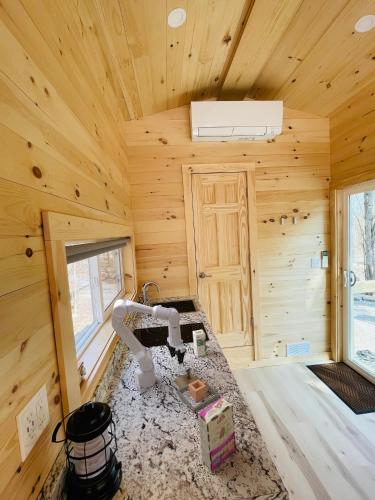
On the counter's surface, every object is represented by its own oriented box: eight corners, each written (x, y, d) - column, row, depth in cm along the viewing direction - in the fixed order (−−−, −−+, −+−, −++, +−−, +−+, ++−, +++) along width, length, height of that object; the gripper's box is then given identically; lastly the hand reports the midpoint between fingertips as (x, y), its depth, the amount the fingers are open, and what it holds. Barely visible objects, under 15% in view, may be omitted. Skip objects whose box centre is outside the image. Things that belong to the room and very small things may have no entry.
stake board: (180, 390, 106) (179, 379, 106) (172, 382, 112) (171, 371, 112) (198, 381, 111) (197, 370, 111) (190, 374, 117) (189, 363, 117)
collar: (196, 402, 97) (195, 391, 97) (189, 395, 102) (188, 384, 101) (209, 395, 101) (208, 384, 100) (202, 388, 106) (201, 378, 105)
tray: (193, 415, 92) (193, 409, 92) (176, 395, 103) (176, 390, 103) (219, 399, 99) (219, 394, 99) (201, 382, 110) (201, 378, 110)
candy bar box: (225, 439, 81) (222, 395, 79) (236, 450, 76) (233, 404, 75) (200, 460, 74) (197, 413, 72) (211, 473, 70) (207, 423, 68)
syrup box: (197, 359, 130) (195, 335, 129) (194, 354, 136) (192, 330, 134) (207, 357, 132) (205, 332, 130) (203, 352, 137) (201, 328, 136)
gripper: (189, 336, 109) (191, 363, 111) (174, 326, 121) (176, 351, 123) (176, 341, 105) (179, 369, 107) (162, 330, 118) (164, 355, 119)
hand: (176, 360), depth 115 cm, fingers open, 7 cm apart
